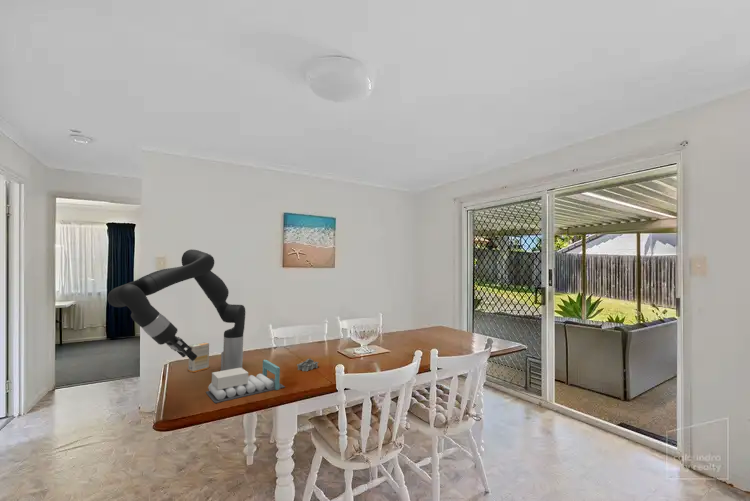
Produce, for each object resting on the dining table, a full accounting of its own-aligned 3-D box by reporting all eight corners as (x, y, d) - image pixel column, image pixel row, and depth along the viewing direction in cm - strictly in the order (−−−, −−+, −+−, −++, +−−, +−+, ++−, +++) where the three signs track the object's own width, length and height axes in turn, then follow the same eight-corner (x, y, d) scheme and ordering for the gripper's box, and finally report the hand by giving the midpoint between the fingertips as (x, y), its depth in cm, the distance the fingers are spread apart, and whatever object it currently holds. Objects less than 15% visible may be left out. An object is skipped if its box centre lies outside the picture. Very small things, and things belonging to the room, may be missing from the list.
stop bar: (275, 390, 149) (276, 368, 149) (262, 380, 161) (262, 360, 161) (279, 389, 150) (279, 367, 150) (265, 379, 162) (266, 359, 162)
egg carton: (310, 365, 187) (311, 357, 187) (320, 367, 182) (320, 360, 183) (295, 369, 179) (295, 361, 179) (304, 372, 174) (304, 364, 174)
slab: (217, 389, 137) (218, 378, 137) (211, 383, 144) (211, 372, 144) (248, 383, 144) (248, 372, 144) (240, 377, 151) (241, 367, 151)
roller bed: (214, 403, 134) (215, 392, 134) (205, 392, 144) (206, 382, 145) (284, 387, 152) (285, 378, 152) (272, 379, 163) (272, 370, 163)
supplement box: (203, 367, 179) (204, 341, 180) (208, 369, 176) (209, 343, 177) (187, 371, 172) (188, 344, 173) (192, 373, 170) (193, 346, 170)
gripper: (176, 322, 121) (206, 351, 129) (161, 318, 131) (190, 346, 138) (157, 339, 117) (190, 368, 124) (143, 334, 126) (174, 361, 133)
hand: (190, 356), depth 131 cm, fingers open, 8 cm apart
